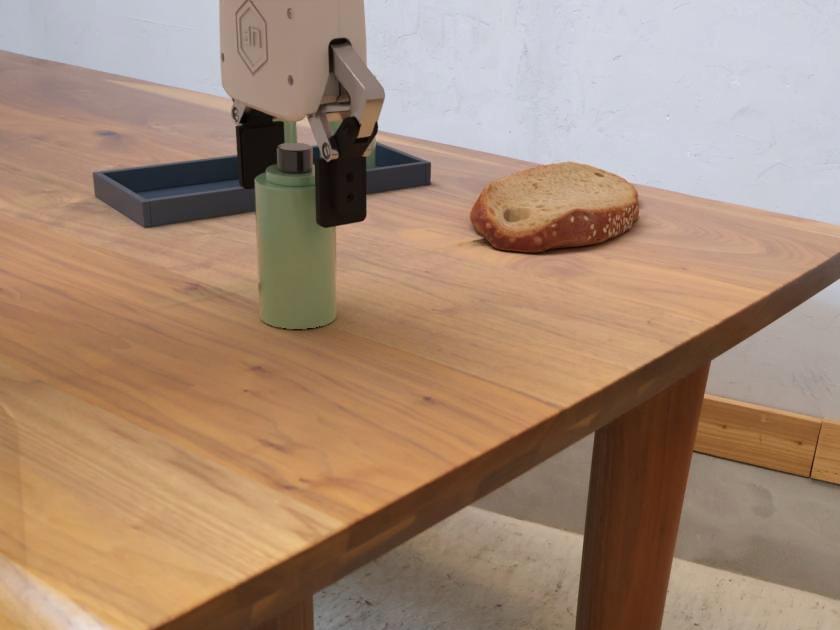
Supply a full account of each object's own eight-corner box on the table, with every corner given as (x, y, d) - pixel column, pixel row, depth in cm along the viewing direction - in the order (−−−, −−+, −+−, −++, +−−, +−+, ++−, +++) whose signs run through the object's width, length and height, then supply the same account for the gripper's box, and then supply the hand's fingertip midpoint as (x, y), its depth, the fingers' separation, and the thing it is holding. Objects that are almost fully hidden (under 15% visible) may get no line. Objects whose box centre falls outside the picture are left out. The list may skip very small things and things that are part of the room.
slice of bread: (601, 184, 108) (605, 144, 106) (700, 241, 93) (707, 196, 91) (420, 195, 102) (421, 153, 101) (495, 257, 87) (498, 209, 86)
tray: (145, 235, 89) (142, 202, 88) (95, 203, 96) (92, 172, 95) (430, 191, 104) (431, 162, 103) (369, 166, 111) (369, 138, 110)
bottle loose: (283, 335, 72) (278, 160, 67) (245, 310, 76) (238, 142, 71) (351, 320, 75) (351, 150, 70) (311, 297, 78) (309, 134, 73)
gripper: (161, -107, 68) (185, 180, 76) (310, -89, 56) (319, 251, 64) (274, -107, 72) (285, 166, 80) (435, -90, 60) (429, 230, 68)
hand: (300, 203), depth 72 cm, fingers open, 9 cm apart
